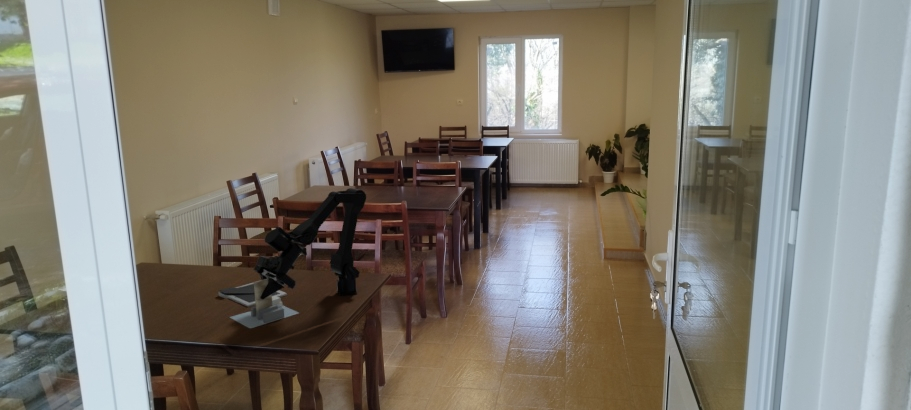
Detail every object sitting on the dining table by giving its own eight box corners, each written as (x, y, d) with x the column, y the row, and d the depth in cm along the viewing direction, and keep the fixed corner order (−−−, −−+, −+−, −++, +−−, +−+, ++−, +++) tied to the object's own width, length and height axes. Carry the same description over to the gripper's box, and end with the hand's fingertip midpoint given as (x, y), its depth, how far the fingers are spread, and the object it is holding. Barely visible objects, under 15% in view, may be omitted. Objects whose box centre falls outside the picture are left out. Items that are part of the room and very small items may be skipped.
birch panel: (270, 312, 205) (267, 278, 203) (273, 313, 204) (270, 279, 202) (256, 316, 202) (253, 281, 199) (259, 317, 200) (256, 283, 198)
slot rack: (278, 305, 214) (277, 295, 213) (299, 315, 205) (298, 304, 204) (229, 319, 201) (228, 308, 201) (250, 330, 192) (249, 319, 191)
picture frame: (218, 297, 224) (248, 310, 211) (218, 290, 224) (247, 303, 210) (257, 286, 236) (287, 298, 222) (256, 279, 235) (286, 291, 222)
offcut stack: (276, 303, 214) (275, 295, 213) (282, 306, 211) (282, 298, 210) (262, 307, 210) (262, 299, 209) (269, 310, 207) (268, 302, 207)
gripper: (256, 241, 207) (228, 279, 202) (285, 251, 195) (256, 292, 189) (278, 258, 214) (252, 295, 209) (307, 269, 202) (280, 309, 196)
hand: (259, 297), depth 201 cm, fingers closed on birch panel, 2 cm apart
